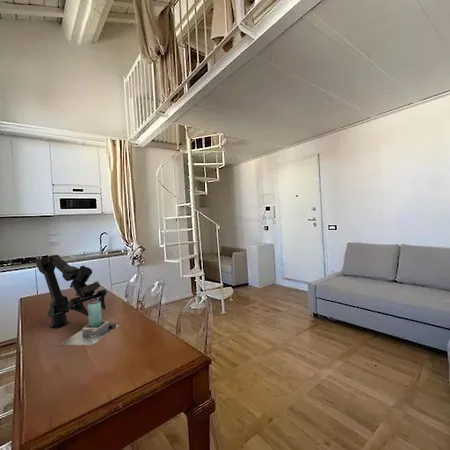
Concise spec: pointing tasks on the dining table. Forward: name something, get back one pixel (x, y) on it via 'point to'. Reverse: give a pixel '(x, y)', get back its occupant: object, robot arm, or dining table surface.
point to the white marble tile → (90, 334)
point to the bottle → (94, 314)
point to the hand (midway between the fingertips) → (96, 312)
